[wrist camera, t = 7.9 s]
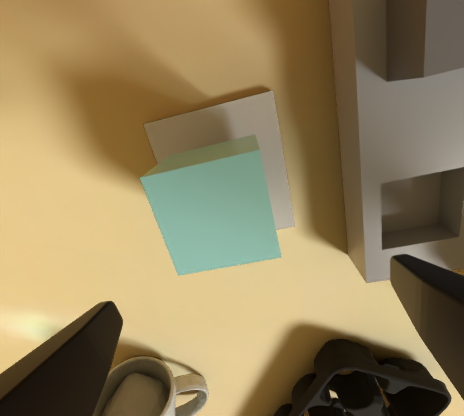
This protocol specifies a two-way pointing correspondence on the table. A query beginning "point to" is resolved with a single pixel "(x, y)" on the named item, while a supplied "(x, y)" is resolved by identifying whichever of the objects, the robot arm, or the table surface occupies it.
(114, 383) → the ceramic mug
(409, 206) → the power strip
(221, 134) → the mat
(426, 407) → the egg carton
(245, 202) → the green block
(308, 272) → the table surface
